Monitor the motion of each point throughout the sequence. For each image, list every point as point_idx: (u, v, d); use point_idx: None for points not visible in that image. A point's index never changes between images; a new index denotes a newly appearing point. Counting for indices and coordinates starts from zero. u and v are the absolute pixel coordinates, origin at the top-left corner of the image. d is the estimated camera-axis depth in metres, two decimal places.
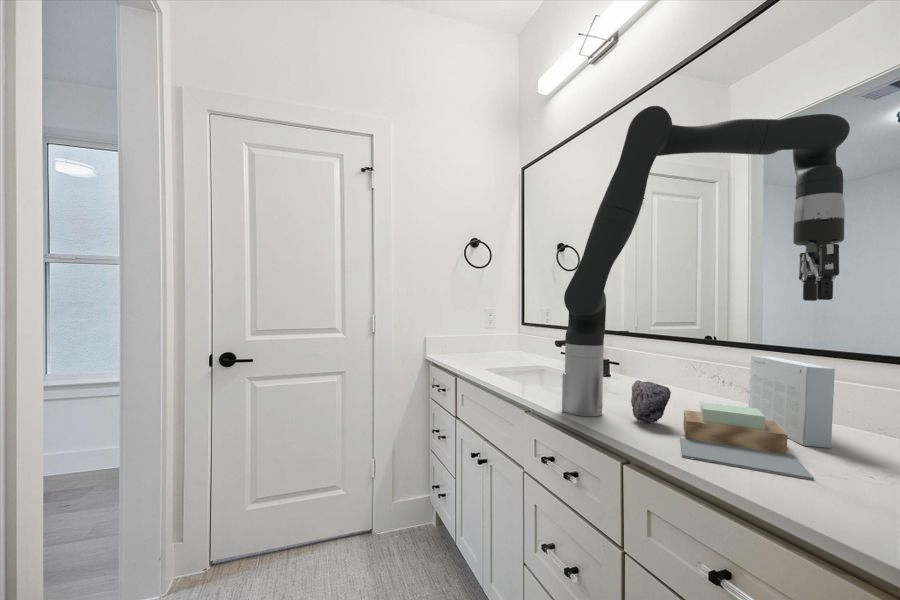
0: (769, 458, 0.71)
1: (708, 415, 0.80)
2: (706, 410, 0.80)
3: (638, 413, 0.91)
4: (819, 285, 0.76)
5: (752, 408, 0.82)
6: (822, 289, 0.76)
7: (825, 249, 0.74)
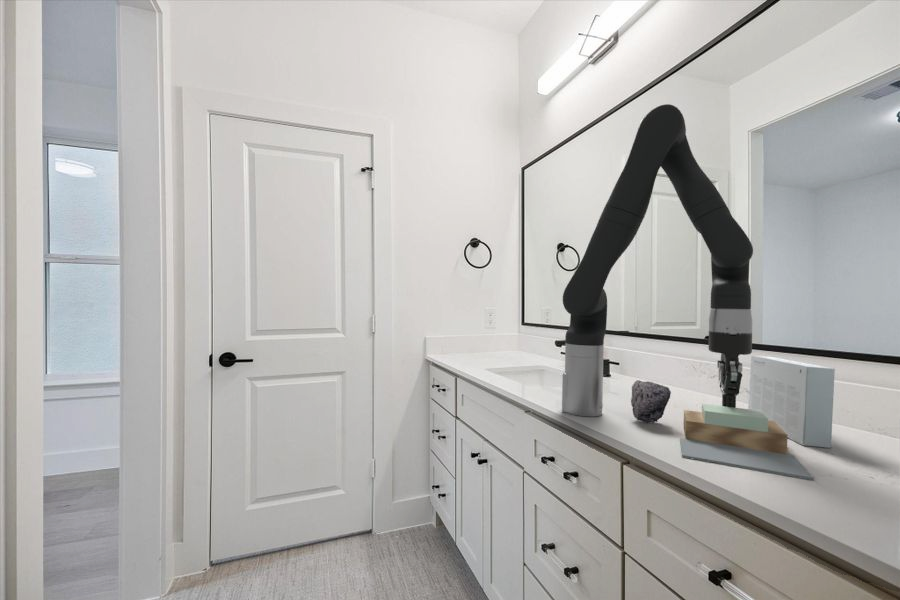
0: (769, 458, 0.71)
1: (710, 417, 0.78)
2: (707, 411, 0.79)
3: (638, 413, 0.91)
4: (724, 399, 0.84)
5: (754, 410, 0.80)
6: (726, 404, 0.83)
7: (729, 378, 0.79)
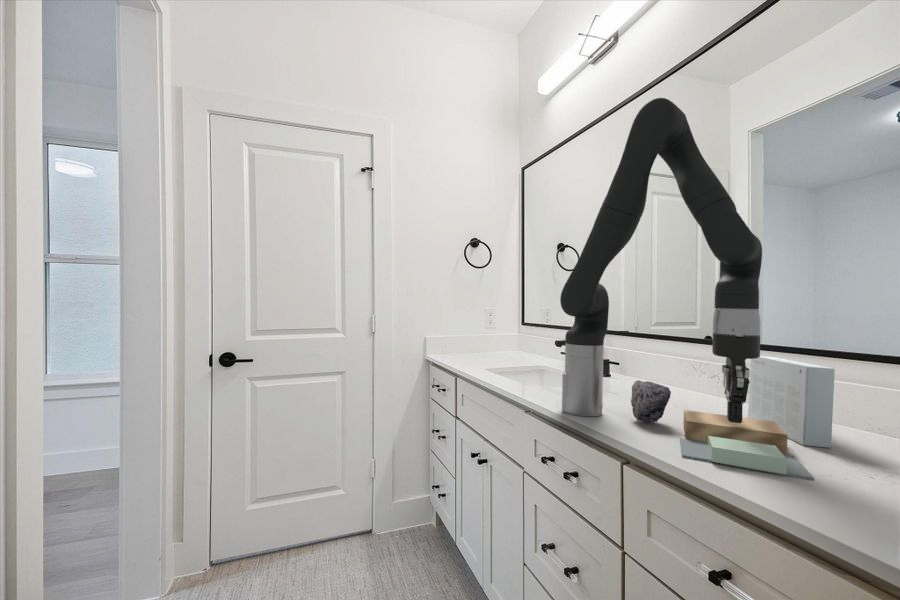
0: None
1: None
2: None
3: (638, 413, 0.91)
4: (730, 407, 0.77)
5: None
6: (732, 412, 0.76)
7: (735, 384, 0.72)
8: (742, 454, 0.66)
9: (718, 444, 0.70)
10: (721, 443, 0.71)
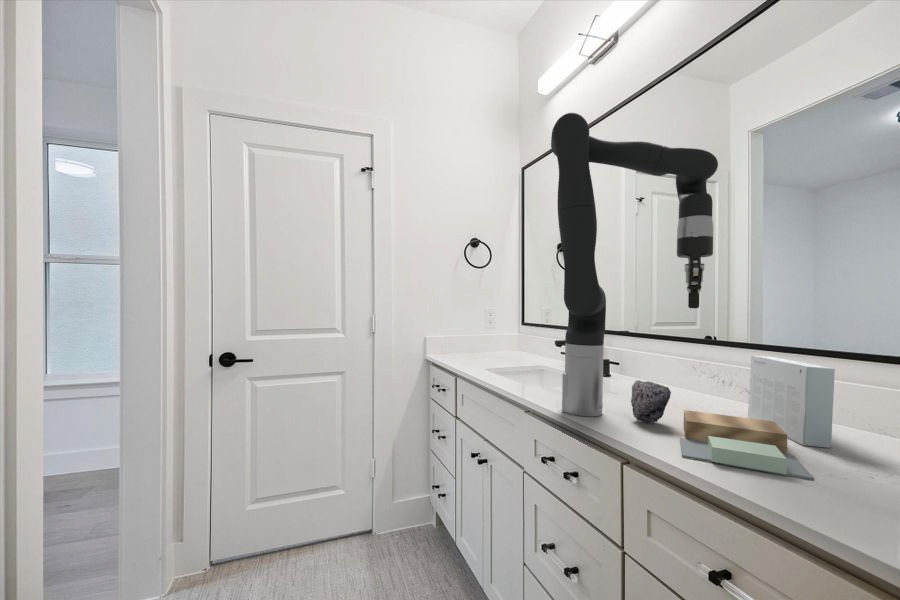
0: None
1: None
2: None
3: (638, 413, 0.91)
4: (689, 296, 0.96)
5: None
6: (691, 300, 0.96)
7: (692, 273, 0.92)
8: (742, 454, 0.66)
9: (718, 444, 0.70)
10: (721, 443, 0.71)
